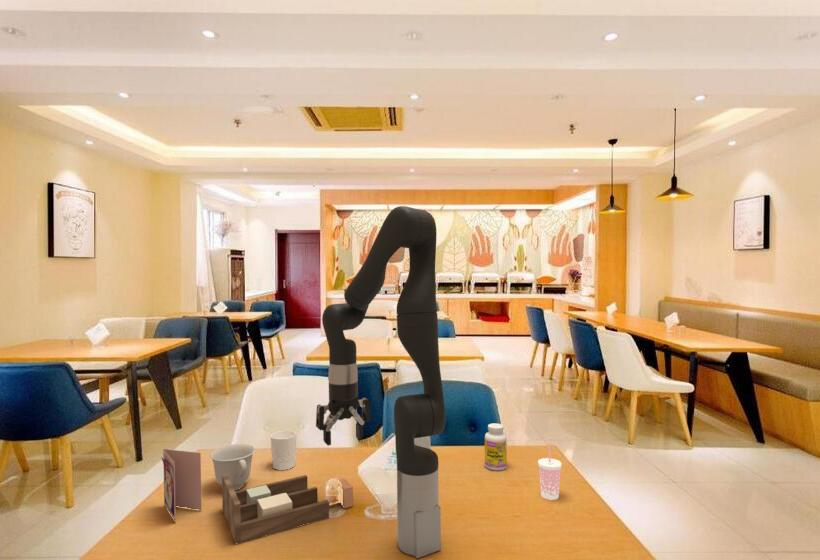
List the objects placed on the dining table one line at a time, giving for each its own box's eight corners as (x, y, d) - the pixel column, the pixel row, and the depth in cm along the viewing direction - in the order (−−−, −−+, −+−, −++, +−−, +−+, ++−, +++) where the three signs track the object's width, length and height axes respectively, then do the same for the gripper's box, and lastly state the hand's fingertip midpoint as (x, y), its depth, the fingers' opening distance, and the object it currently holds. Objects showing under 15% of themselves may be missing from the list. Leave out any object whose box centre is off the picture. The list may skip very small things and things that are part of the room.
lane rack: (329, 517, 116) (328, 481, 116) (235, 544, 105) (234, 504, 105) (306, 489, 131) (305, 457, 131) (222, 509, 120) (221, 475, 120)
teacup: (221, 505, 123) (221, 467, 123) (204, 485, 134) (204, 450, 134) (266, 491, 130) (265, 455, 130) (246, 473, 142) (246, 440, 142)
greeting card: (160, 507, 122) (159, 449, 122) (191, 498, 127) (190, 442, 127) (171, 525, 113) (170, 463, 113) (204, 514, 118) (203, 455, 118)
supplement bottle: (483, 470, 143) (483, 428, 143) (486, 461, 150) (486, 421, 149) (505, 472, 141) (505, 430, 141) (507, 463, 148) (507, 423, 147)
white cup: (270, 463, 150) (270, 431, 150) (296, 459, 152) (295, 429, 152) (271, 473, 142) (270, 440, 142) (297, 469, 145) (297, 437, 145)
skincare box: (431, 460, 151) (431, 423, 150) (421, 464, 148) (420, 426, 148) (419, 455, 155) (418, 418, 155) (408, 458, 152) (408, 421, 152)
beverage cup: (561, 502, 122) (561, 449, 122) (537, 499, 124) (537, 446, 124) (562, 492, 128) (561, 441, 128) (538, 489, 130) (538, 438, 130)
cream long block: (353, 506, 121) (352, 486, 121) (263, 531, 110) (262, 509, 110) (344, 496, 126) (343, 478, 126) (257, 519, 115) (257, 499, 115)
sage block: (271, 512, 119) (270, 492, 119) (250, 517, 117) (250, 497, 117) (266, 503, 124) (266, 484, 124) (246, 508, 121) (246, 489, 121)
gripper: (321, 386, 116) (322, 451, 116) (374, 379, 123) (374, 440, 123) (312, 380, 122) (312, 442, 123) (362, 373, 129) (362, 432, 130)
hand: (343, 441), depth 123 cm, fingers open, 8 cm apart
